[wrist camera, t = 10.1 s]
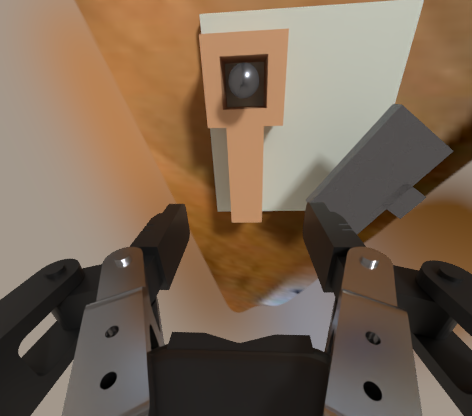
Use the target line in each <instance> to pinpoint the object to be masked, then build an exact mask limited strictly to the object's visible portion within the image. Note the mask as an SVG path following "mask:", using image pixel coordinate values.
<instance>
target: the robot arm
mask: <svg viewBox="0 0 472 416" xmlns="http://www.w3.org/2000/svg"><path fill="white" fill-rule="evenodd" d="M189 235H190V230H189V224H188V218H187V212H186V207H185V205H184V204H169V205H168V206H167V207H166V209H165V210H164V212H163V213H159V214H157V215H156V216H154V217H153V218H151V220H150V221H149V222H148V223H147V226H145V227H144V229H143V231H141V232H140V234H139V235H138V237H137V238H136V239H135V240H134V242H133V243H132V244H131V245H130V247H126V248H122V249H119V250H116V251H115V252H113V253H111V254H110V255H108V256H107V257H106V258H105V260H104V261H103V263H102V264H101V265H96V266H92V267H87V268H83V269H82V268H81V266H80V264H79V262H78V261H77V260H75V259H64V260H60V261H57V262H54V263H52V264H50V265H48V266H46V267H44V268H42V269H41V270H40V271H38V272H37V273H36V274H34V275H33V276H31V277H30V278H29V279H28V280H26V281H25V282H24V283H22V284H21V285H20V286H18V287H17V288H16V289H14V290H13V291H12V292H10V293H9V294H8V295H6V296H5V297H4V298H2V299H1V300H0V416H30V415H31V414H32V413H33V412H34V410H35V409H36V408H37V406H38V405H39V404H40V402H41V401H42V400H43V398H44V397H45V396H46V395H47V393H48V392H49V391H50V389H51V388H52V387H53V385H54V384H55V383H56V381H57V380H58V379H59V377H60V376H61V375H62V374H63V372H64V371H65V370H66V368H67V367H68V365H69V364H70V363H71V362H72V360H73V359H74V361H73V365H72V370H71V375H70V379H69V384H68V389H67V393H66V398H65V403H64V408H63V412H62V416H422V409H421V403H420V396H419V389H418V382H417V375H416V368H415V361H414V354H413V349H414V351H415V352H416V354H417V355H418V356H419V357H420V359H421V360H422V361H423V363H424V364H425V365H426V367H427V368H428V369H429V371H430V372H431V373H432V375H433V376H434V377H435V378H436V380H437V381H438V382H439V384H440V385H441V386H442V388H443V389H444V390H445V392H446V393H447V394H448V395H449V397H450V398H451V399H452V401H453V402H454V403H455V405H456V406H457V407H458V408H459V410H460V411H461V413H462V414H463V415H464V416H472V350H471V349H470V348H469V347H468V346H467V345H466V344H465V343H464V342H463V341H462V340H461V339H460V338H459V337H458V336H457V335H456V334H455V333H454V332H453V331H452V330H453V329H454V327H455V326H456V325H457V323H458V324H459V325H460V326H461V327H462V328H463V329H465V331H466V332H468V333H469V334H470V335H471V336H472V274H470V273H469V272H467V271H465V270H464V269H462V268H460V267H457V266H455V265H453V264H449V263H446V262H442V261H426V262H424V263H423V264H422V266H421V268H420V270H419V271H418V270H413V269H409V268H404V267H399V266H395V265H393V263H392V262H391V260H390V259H389V258H388V257H387V256H386V255H385V254H383V253H381V252H379V251H377V250H375V249H372V248H367V247H366V246H365V245H364V243H363V242H362V241H361V240H360V238H359V237H358V236H357V234H356V233H355V232H354V231H353V230H352V228H351V227H350V225H348V223H347V221H346V220H345V219H344V218H343V217H342V216H341V215H339V214H337V213H336V212H330V211H329V209H328V208H327V206H326V205H325V204H324V202H308V203H307V204H306V209H305V217H304V225H303V239H304V242H305V245H306V247H307V250H308V252H309V255H310V258H311V260H312V263H313V266H314V268H315V271H316V273H317V276H318V279H319V281H320V284H321V286H322V289H323V292H334V295H335V301H334V305H333V310H332V316H331V321H330V326H329V331H328V337H327V342H326V347H325V351H324V352H323V351H320V350H318V349H315V348H313V347H312V343H311V339H310V336H309V335H272V336H267V337H263V338H259V339H255V340H251V341H247V342H244V343H236V342H233V341H229V340H226V339H223V338H220V337H216V336H213V335H210V334H207V333H189V332H187V333H186V332H172V334H171V337H170V341H169V344H167V345H165V344H164V339H163V332H162V325H161V319H160V312H159V304H158V299H157V294H158V292H159V290H169V288H170V286H171V283H172V281H173V278H174V276H175V273H176V271H177V268H178V266H179V263H180V261H181V258H182V256H183V253H184V251H185V248H186V246H187V243H188V241H189ZM50 312H52V314H53V315H54V317H55V318H56V320H57V321H56V322H55V323H54V325H52V326H51V328H50V329H49V330H48V331H47V332H46V333H45V334H44V335H43V336H42V337H41V338H40V339H39V340H38V341H37V342H36V343H35V344H34V345H33V346H32V347H31V348H30V349H29V350H28V351H27V353H26V354H25V355H24V356H23V357H22V358H21V357H20V356H19V354H18V349H19V346H20V343H21V342H22V340H23V339H24V338H25V337H26V336H27V335H28V334H29V333H30V332H31V331H32V330H33V329H34V328H35V327H36V326H37V325H38V324H39V323H40V322H41V321H42V320H43V319H44V318H45V317H46V316H47V315H48V314H49V313H50Z"/></svg>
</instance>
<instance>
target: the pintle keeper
mask: <svg viewBox="0 0 472 416" xmlns="http://www.w3.org/2000/svg"><path fill="white" fill-rule="evenodd" d="M228 84H229V88H230V90H231V92H232V93H233V94H234V95H235V96H236V97H238V98H248V97H250V96H252V95H253V94H254V93H255V92H256V90H257V88H258V85H259V75H258V72H257V70H256V69H255V67H254V66H252V65H251V64H249V63H239V64H237V65H235V66H234V67H233V68H232V70H231V72H230V74H229V78H228ZM452 152H453V150H452V149H451V148H449V147H448V146H447V145H446V144H445V143H444V142H443V141H442V140H441V139H439V138H438V137H437V136H436V135H435V134H434V133H433V132H432V131H431V130H429V129H428V128H427V127H426V126H425V125H424V124H423V123H422V122H421V121H419V120H418V119H417V118H416V117H415V116H414V115H413V114H412V113H411V112H410V111H408V110H407V109H406V108H405V107H404V106H403V105H400V104H392V105H391V106H390V108H389V109H388V110H387V111H386V112H385V113H384V114H383V115H382V116H381V117H380V119H379V120H378V121H377V122H376V123H375V124H374V125H373V126H372V127H371V128H370V130H369V131H368V132H367V133H366V134H365V135H364V136H363V137H362V138H361V139H360V141H359V142H358V143H357V144H356V145H355V146H354V147H353V148H352V149H351V150H350V151H349V153H348V154H347V155H346V156H345V157H344V158H343V159H342V160H341V161H340V162H339V164H338V165H337V166H336V167H335V168H334V169H333V170H332V171H331V172H330V173H329V175H328V176H327V177H326V178H325V179H324V180H323V181H322V182H321V183H320V184H319V186H318V187H317V188H316V189H315V190H314V191H313V192H312V193H311V194H310V195H309V196H308V198H307V199H306V202H307V203H308V202H324V204H325V205H326V206H327V208H328V209H329V211H330V212H336V213H337V214H339V215H341V216H342V217H343V218H344V219H345V220H346V221H347V223H348V225H350V227H351V228H352V230H353V231H354V232H355V233H356V234H358V233H359V232H360V231H361V230H363V229H364V228H365V227H366V226H367V225H368V224H370V223H371V222H372V221H373V220H374V219H375V218H376V217H378V216H379V215H380V214H381V213H382V212H383V211H385V210H386V209H387V210H389V211H390V212H391V213H393V214H394V215H396V216H397V217H398V218H400V219H401V218H402V217H403V216H404V215H405V214H407V213H408V212H409V211H410V210H412V209H413V208H414V207H415V206H417V205H418V204H419V203H420V202H422V201H423V200H424V199H425V198H426V197H425V196H424V195H422V194H421V193H420V192H419V191H417V190H416V189H415V188H413V187H412V186H413V185H415V184H416V183H417V182H418V181H419V180H420V179H422V178H423V177H424V176H425V175H426V174H427V173H429V172H430V171H431V170H432V169H433V168H434V167H435V166H437V165H438V164H439V163H440V162H441V161H442V160H444V159H445V158H446V157H447V156H448V155H449V154H450V153H452Z"/></svg>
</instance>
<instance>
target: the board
mask: <svg viewBox="0 0 472 416" xmlns="http://www.w3.org/2000/svg"><path fill="white" fill-rule="evenodd" d="M423 2H424V0H396V1H381V2H367V3H353V4H338V5H324V6H309V7H295V8H281V9H266V10H252V11H238V12H223V13H209V14H200V25H201V34H208V33H224V32H240V31H256V30H272V29H288V28H289V36H288V52H287V68H286V85H285V101H284V117H283V126H264V144H263V191H262V211H305V209H306V204H307V202H306V199H307V198H308V196H309V195H310V194H311V193H312V192H313V191H314V190H315V189H316V188H317V187H318V186H319V184H320V183H321V182H322V181H323V180H324V179H325V178H326V177H327V176H328V175H329V173H330V172H331V171H332V170H333V169H334V168H335V167H336V166H337V165H338V164H339V162H340V161H341V160H342V159H343V158H344V157H345V156H346V155H347V154H348V153H349V151H350V150H351V149H352V148H353V147H354V146H355V145H356V144H357V143H358V142H359V141H360V139H361V138H362V137H363V136H364V135H365V134H366V133H367V132H368V131H369V130H370V128H371V127H372V126H373V125H374V124H375V123H376V122H377V121H378V120H379V119H380V117H381V116H382V115H383V114H384V113H385V112H386V111H387V110H388V109H389V108H390V106H391V105H392V104H395V101H396V97H397V94H398V90H399V87H400V83H401V80H402V76H403V73H404V69H405V66H406V62H407V59H408V55H409V51H410V48H411V44H412V41H413V37H414V34H415V30H416V27H417V23H418V20H419V16H420V12H421V9H422V5H423ZM247 63H249V64H251V65H252V66H254V67H255V69H256V70H257V72H258V75H259V85H258V88H257V90H256V92H255V93H254V94H253V95H252V96H250V97H248V98H238V97H236V96H235V95H234V94H233V93H232V92H231V90H230V88H229V84H228V78H229V74H230V72H231V70H232V68H233V67H234V66H235V65H237V64H239V63H228V64H225V76H226V95H227V107H242V106H263V105H264V62H247ZM210 133H211V144H212V155H213V166H214V176H215V187H216V198H217V209H218V212H220V211H231V200H230V183H229V165H228V148H227V131H226V128H210Z"/></svg>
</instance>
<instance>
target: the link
mask: <svg viewBox="0 0 472 416" xmlns="http://www.w3.org/2000/svg"><path fill="white" fill-rule="evenodd" d="M288 36H289V28H288V29H272V30H256V31H240V32H224V33H208V34H199V42H200V52H201V62H202V73H203V83H204V94H205V104H206V114H207V125H208V128H226V131H227V148H228V165H229V183H230V200H231V218H232V223H244V222H262V191H263V144H264V126H283V117H284V101H285V85H286V68H287V52H288ZM247 62H264V105H263V106H242V107H227V95H226V76H225V64H228V63H247Z"/></svg>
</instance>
